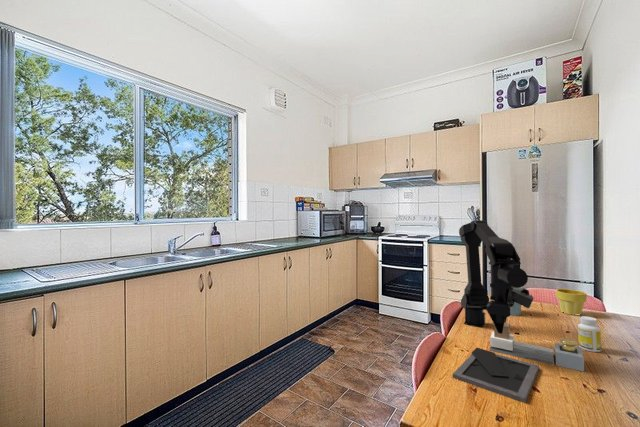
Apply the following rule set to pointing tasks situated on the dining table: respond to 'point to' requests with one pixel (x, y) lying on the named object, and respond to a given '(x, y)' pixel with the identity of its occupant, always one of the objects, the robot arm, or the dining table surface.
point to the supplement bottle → (589, 334)
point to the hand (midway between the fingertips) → (501, 328)
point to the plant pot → (571, 300)
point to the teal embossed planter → (516, 306)
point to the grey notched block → (569, 358)
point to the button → (568, 345)
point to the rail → (532, 357)
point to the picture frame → (498, 374)
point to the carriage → (502, 338)
